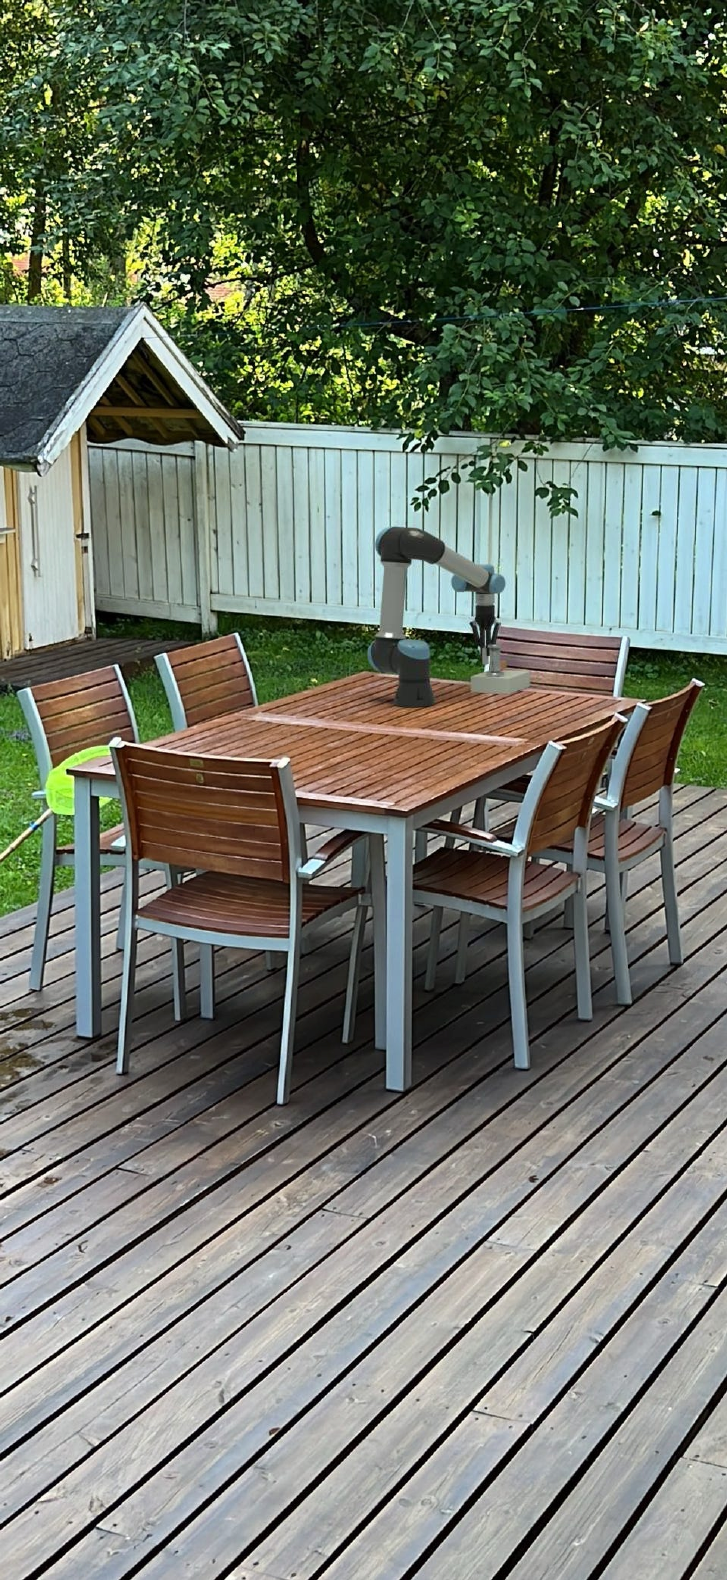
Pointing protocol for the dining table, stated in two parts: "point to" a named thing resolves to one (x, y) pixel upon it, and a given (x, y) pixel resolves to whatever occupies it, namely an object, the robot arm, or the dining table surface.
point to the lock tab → (503, 664)
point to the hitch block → (501, 682)
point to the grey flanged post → (494, 661)
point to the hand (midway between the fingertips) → (485, 664)
